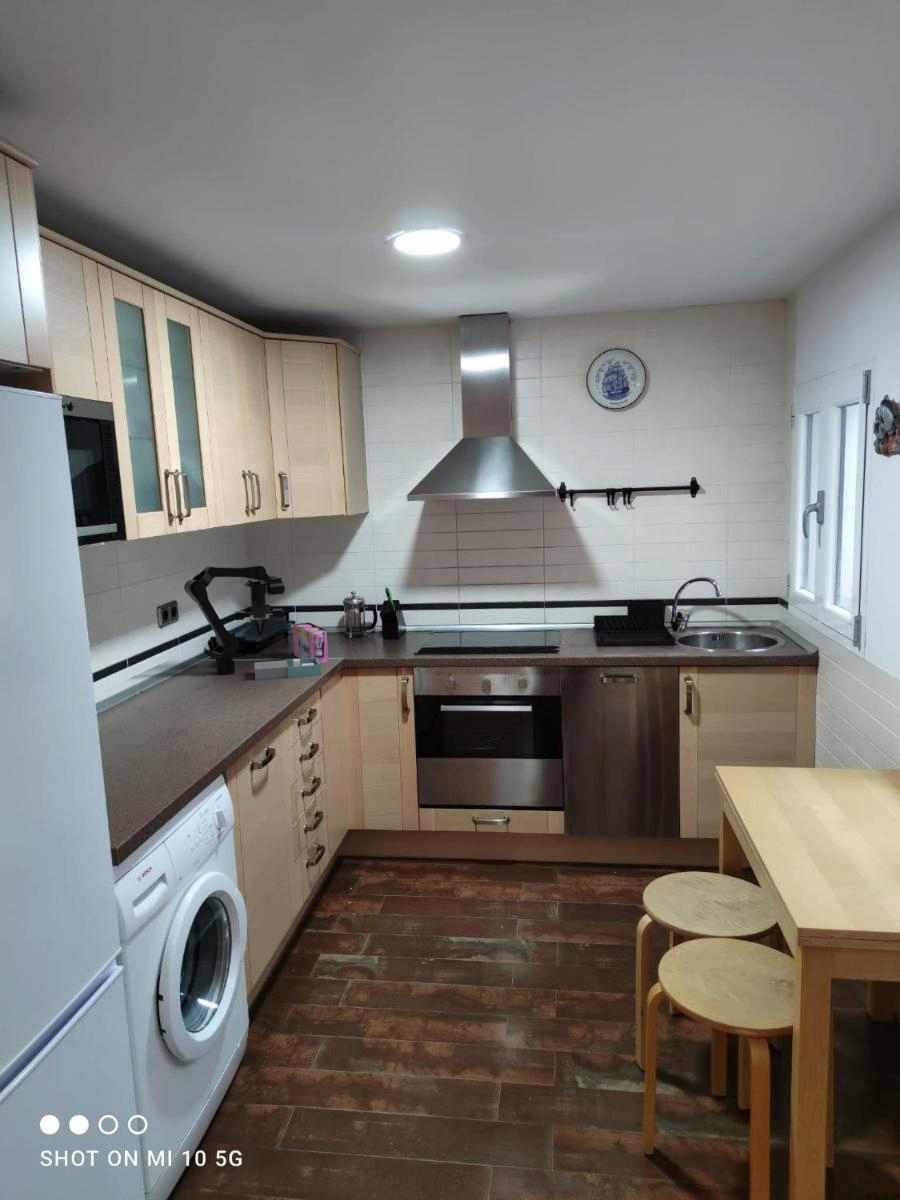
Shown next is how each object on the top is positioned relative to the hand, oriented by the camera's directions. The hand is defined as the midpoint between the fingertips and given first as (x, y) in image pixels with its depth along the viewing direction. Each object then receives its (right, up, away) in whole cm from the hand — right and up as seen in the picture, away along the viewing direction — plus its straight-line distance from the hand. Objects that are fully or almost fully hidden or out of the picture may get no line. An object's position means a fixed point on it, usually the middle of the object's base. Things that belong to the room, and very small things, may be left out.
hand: (260, 635), depth 310 cm
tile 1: (+15, -11, -11) cm, 22 cm away
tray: (+18, -14, -10) cm, 25 cm away
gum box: (+18, -11, +14) cm, 25 cm away
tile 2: (+21, -11, -10) cm, 25 cm away
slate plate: (+7, -14, -13) cm, 21 cm away
